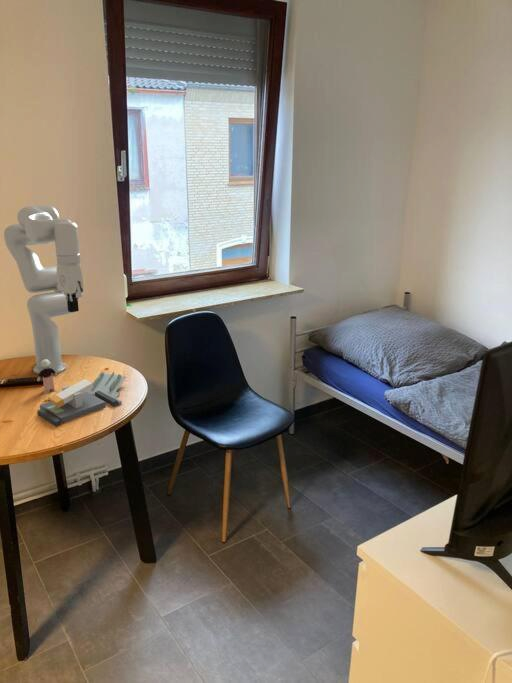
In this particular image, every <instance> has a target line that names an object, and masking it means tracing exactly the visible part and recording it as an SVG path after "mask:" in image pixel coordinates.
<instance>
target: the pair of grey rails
mask: <svg viewBox="0 0 512 683" xmlns="http://www.w3.org/2000/svg"><path fill="white" fill-rule="evenodd" d="M94 396H96V397H97V398H99V399H101V400H103V401H105V404H108V405H109V406H112V407H113V408H115V407H117V406H120V405H123V404H122V400H121V399H119V398H118V397H117V398H115V397H113V396H111V395H109V394H107V393H105V392H104V391H96V392H95V395H94ZM37 415H38V416H39V417H41V419H43V420H44V421H46V422H48V423H49V424H50V425H53V427H55V428H57V427H60V426H62V424H61V420H60V419H58V418H56V417H55V416H53V415H52V414H50V413H49V412H47V411H45V410H44V409H40V408H39V409H38V410H37Z"/></svg>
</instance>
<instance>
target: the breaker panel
mask: <svg viewBox="0 0 512 683" xmlns="http://www.w3.org/2000/svg"><path fill="white" fill-rule="evenodd" d="M69 387H70V385H66V386H63V387H61V391H63V390H65V389H66V388H69ZM106 404H107V403H106V402H105V401H103V400H101V399H99V398H97V397H96V396H95V395H92V394H90V393H88V392H85V393H84V394H81V392H79V393H76V394H74V399H73V400H71V401H69V402H67V403H66V404H65V405H63V406H61V407H59V408H58V407H56V406H54V405H53V404H51V403H50V401H47V402H44V403H41V404H39V410H40V409H44V410H45V411H47V412H49V413H50V414H52V415H53V416H55V417H56V418H58V419H60V420H61V425H62V424H64V423H66V422H67V423H68V422H70V421H72V420H74V419H75V420H76V419H78V418H80V417H82V416H85V415H87V414H88V415H89V414H91V413H93V412H94V413H95V412H97V411H99V410H102V409H104V408H107V405H106Z"/></svg>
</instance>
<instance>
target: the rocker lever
mask: <svg viewBox="0 0 512 683" xmlns="http://www.w3.org/2000/svg"><path fill="white" fill-rule="evenodd" d="M92 383H93V382H90V381H89V380H87V379H85V378H84V379H82V380H80V381H78V382H75V384H72V385H71V386H69V388H66V389H65V390H63V391H62V390H61V391H59V392H58V393H56V394H54V395H51V396H49V397H48V400H49V402H50V403H51V404H53V405H54V406H56V407H58V408H59V407H61V406H63V405H65V404H66V403H67V402H69V401H71V400H73V399H74V394H76V393H79V392H81V394H84V393H85V392H87V391H89V390H91V389H93V388H94V387H93V384H92Z"/></svg>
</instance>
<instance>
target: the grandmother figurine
mask: <svg viewBox="0 0 512 683" xmlns="http://www.w3.org/2000/svg"><path fill="white" fill-rule="evenodd" d="M49 366H50V362H49V360H47V359H45V360H43V361H41V367H43V368H44V370H42V371H41V372H40V373H39V374H37V379H36V381H37V382H40V381H41V378H42V382H43V393H44V394H50V393H51V392H56V387H55V382H54V378H53V376H55V377H56V378H57V377H58V373H56V372H55V371H54V370H53V369H52V368H49ZM51 373H53V374H51Z"/></svg>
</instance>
